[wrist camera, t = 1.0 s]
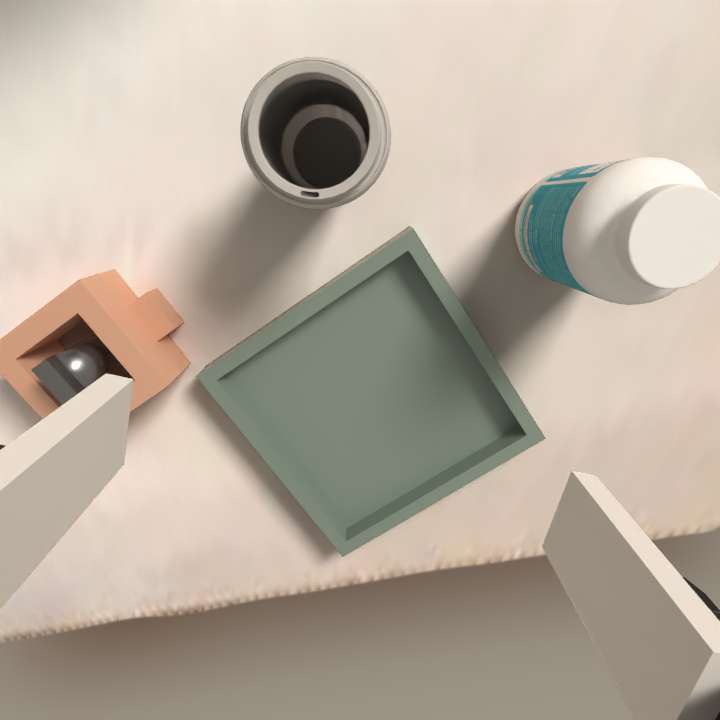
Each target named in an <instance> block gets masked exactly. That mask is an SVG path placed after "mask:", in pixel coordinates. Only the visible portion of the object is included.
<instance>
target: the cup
mask: <svg viewBox="0 0 720 720" xmlns="http://www.w3.org/2000/svg"><path fill="white" fill-rule="evenodd" d="M241 143H242V148H243V152H244V155H245V158H246V160H247V163H248V165H249V167H250V169H251V170H252V172H253V174H254V175H255V176H256V178H257V179H258V180H259V182H260V183H261V184H262V185H263V186H264V187H265V188H266V189H267V190H268V191H270V192H271V193H272V194H274V195H275V196H276V197H278V198H280V199H281V200H283V201H285V202H287V203H290V204H292V205H295V206H299V207H303V208H308V209H328V208H334V207H338V206H341V205H344V204H347V203H349V202H351V201H353V200H355V199H356V198H358V197H360V196H361V195H362V194H364V193H365V192H366V191H367V190H368V189H369V188H370V187H371V186H372V185H373V184H374V183H375V181H376V180H377V179H378V177H379V176H380V174H381V172H382V171H383V169H384V166H385V164H386V161H387V159H388V155H389V151H390V144H391V128H390V121H389V117H388V113H387V110H386V107H385V105H384V103H383V101H382V99H381V97H380V95H379V94H378V92H377V91H376V89H375V88H374V87H373V85H372V84H371V83H370V82H369V81H368V80H367V79H366V78H365V77H364V76H363V75H361V74H360V73H359V72H357V71H356V70H354V69H353V68H351V67H349V66H347V65H345V64H343V63H341V62H338V61H335V60H331V59H327V58H319V57H305V58H299V59H295V60H291V61H288V62H286V63H283V64H281V65H279V66H277V67H276V68H274V69H273V70H271V71H270V72H268V73H267V74H266V75H265V76H264V77H263V78H262V79H261V80H260V81H259V82H258V83H257V84H256V86H255V87H254V88H253V90H252V91H251V93H250V95H249V97H248V99H247V101H246V103H245V106H244V109H243V113H242V118H241Z"/></svg>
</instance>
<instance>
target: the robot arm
mask: <svg viewBox="0 0 720 720" xmlns="http://www.w3.org/2000/svg"><path fill="white" fill-rule="evenodd" d="M132 388H133V379H131V378H126V377H121V376H116V375H112V374H107V373H106V374H105V375H103V376H102V377H100V378H99V379H98V380H96V381H95V382H94V383H92V384H91V385H89V386H88V387H87V388H85V389H84V390H82V391H81V392H80V393H78V394H77V395H76V396H74V397H73V398H71V399H70V400H69V401H67V402H66V403H65V404H63V405H62V406H60V407H59V408H58V409H56V410H55V411H53V412H52V413H51V414H49V415H48V416H47V417H45V418H44V419H42V420H41V421H40V422H38V423H37V424H35V425H34V426H33V427H31V428H30V429H29V430H27V431H26V432H24V433H23V434H22V435H20V436H19V437H18V438H16V439H15V440H13V441H12V442H11V443H9V444H8V445H6V446H4V445H0V609H1V608H2V607H3V606H4V604H5V603H6V602H7V601H8V600H9V599H10V597H11V596H12V595H13V594H14V593H15V592H16V590H17V589H18V588H19V587H20V586H21V585H22V583H23V582H24V581H25V580H26V579H27V577H28V576H29V575H30V574H31V573H32V572H33V570H34V569H35V568H36V567H37V566H38V565H39V563H40V562H41V561H42V560H43V559H44V558H45V556H46V555H47V554H48V553H49V552H50V551H51V549H52V548H53V547H54V546H55V545H56V543H57V542H58V541H59V540H60V539H61V538H62V536H63V535H64V534H65V533H66V532H67V531H68V529H69V528H70V527H71V526H72V525H73V524H74V522H75V521H76V520H77V519H78V518H79V516H80V515H81V514H82V513H83V512H84V511H85V509H86V508H87V507H88V506H89V505H90V504H91V502H92V501H93V500H94V499H95V498H96V497H97V495H98V494H99V493H100V492H101V491H102V490H103V488H104V487H105V486H106V485H107V484H108V482H109V481H110V480H111V479H112V478H113V477H114V475H115V474H116V473H117V472H118V471H119V470H120V468H121V467H122V466H123V465H124V460H125V451H126V442H127V433H128V424H129V415H130V406H131V397H132ZM542 547H543V549H544V551H545V553H546V555H547V557H548V559H549V561H550V562H551V564H552V566H553V568H554V570H555V572H556V574H557V576H558V577H559V579H560V581H561V583H562V585H563V587H564V589H565V591H566V592H567V595H568V596H569V598H570V600H571V602H572V604H573V605H574V608H575V610H576V611H577V613H578V615H579V617H580V619H581V621H582V623H583V625H584V627H585V628H586V630H587V632H588V634H589V636H590V638H591V640H592V641H593V644H594V645H595V647H596V649H597V651H598V653H599V655H600V657H601V659H602V661H603V663H604V664H605V666H606V668H607V670H608V672H609V674H610V676H611V678H612V679H613V681H614V683H615V685H616V687H617V689H618V691H619V693H620V695H621V696H622V698H623V700H624V702H625V704H626V706H627V708H628V710H629V711H630V714H631V715H632V717H633V719H634V720H720V610H719V609H718V608H717V607H716V606H715V605H714V603H713V602H712V601H711V600H710V599H709V598H708V597H707V595H706V594H705V593H704V592H702V591H701V590H700V589H698V588H697V587H696V586H695V585H693V584H692V583H691V582H690V581H688V580H687V579H686V578H685V577H682V576H681V575H680V574H679V573H678V572H677V571H676V569H675V568H674V567H673V566H672V565H671V564H670V562H669V561H668V560H667V559H666V558H665V556H664V555H663V554H662V553H661V552H660V551H659V549H658V548H657V547H656V546H655V545H654V544H653V542H652V541H651V540H650V539H649V538H648V536H647V535H646V534H645V533H644V532H643V531H642V529H641V528H640V527H639V526H638V525H637V524H636V522H635V521H634V520H633V519H632V518H631V517H630V515H629V514H628V513H627V512H626V511H625V509H624V508H623V507H622V506H621V505H620V504H619V502H618V501H617V500H616V499H615V498H614V497H613V495H612V494H611V493H610V492H609V491H608V490H607V488H606V487H605V486H604V485H603V484H602V482H601V481H600V480H599V479H598V478H597V477H596V476H595V475H590V474H585V473H580V472H576V471H572V472H571V474H570V477H569V479H568V482H567V484H566V487H565V489H564V492H563V495H562V497H561V500H560V502H559V505H558V507H557V510H556V512H555V515H554V517H553V520H552V523H551V525H550V528H549V530H548V533H547V535H546V538H545V540H544V543H543V546H542Z"/></svg>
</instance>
